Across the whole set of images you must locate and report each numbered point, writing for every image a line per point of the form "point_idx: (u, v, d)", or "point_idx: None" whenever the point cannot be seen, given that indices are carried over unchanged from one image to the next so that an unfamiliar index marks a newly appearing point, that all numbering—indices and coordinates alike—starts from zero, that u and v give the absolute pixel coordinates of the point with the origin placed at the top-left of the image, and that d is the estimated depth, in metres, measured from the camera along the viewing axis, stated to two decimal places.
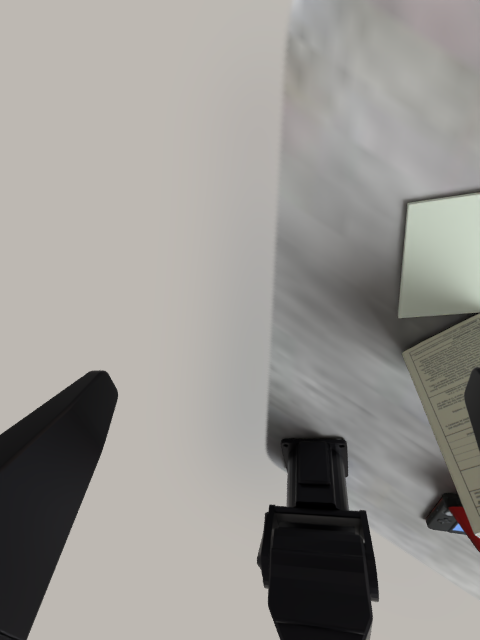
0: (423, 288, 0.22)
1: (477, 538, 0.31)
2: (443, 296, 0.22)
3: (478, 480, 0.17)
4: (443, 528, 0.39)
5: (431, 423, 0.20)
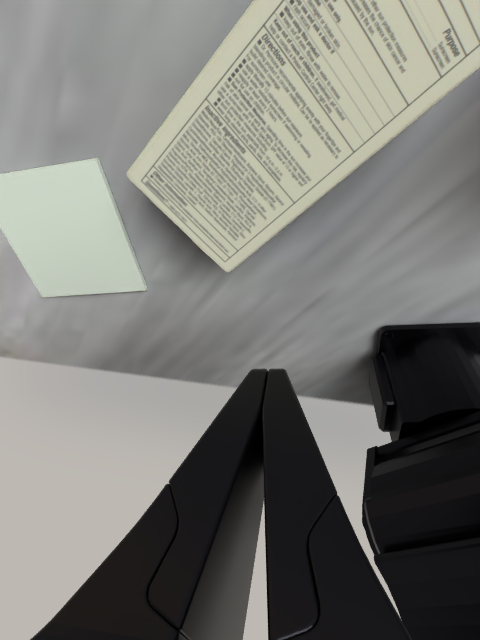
0: (106, 275, 0.22)
1: None
2: (109, 256, 0.21)
3: (419, 70, 0.10)
4: None
5: (336, 181, 0.13)
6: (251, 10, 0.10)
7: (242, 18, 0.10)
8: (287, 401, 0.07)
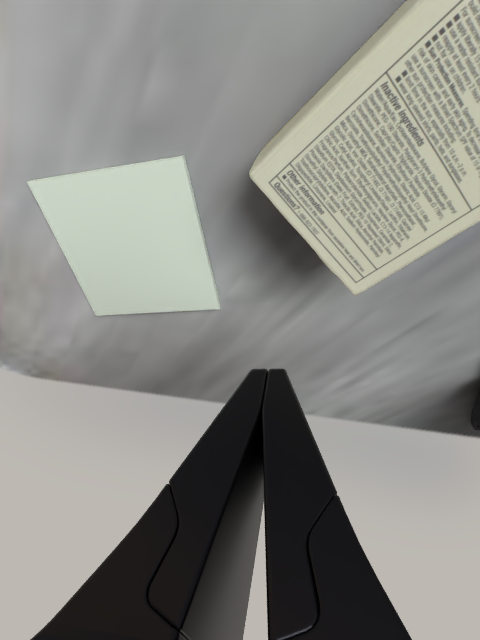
0: (175, 291, 0.19)
1: None
2: (182, 270, 0.18)
3: None
4: None
5: None
6: None
7: None
8: (287, 401, 0.07)
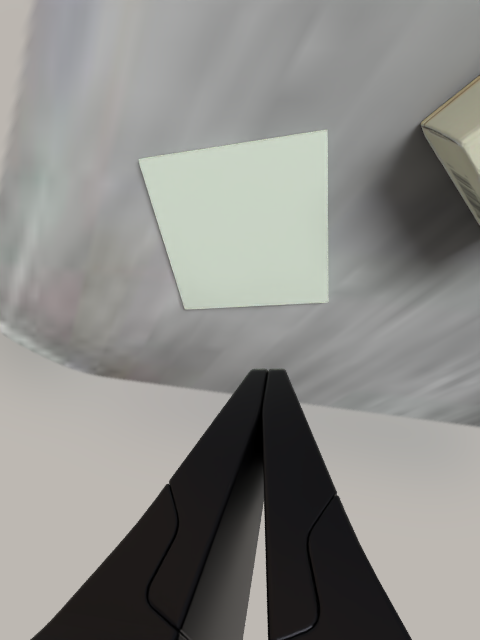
0: (282, 283, 0.17)
1: None
2: (295, 260, 0.16)
3: None
4: None
5: None
6: None
7: None
8: (287, 401, 0.07)
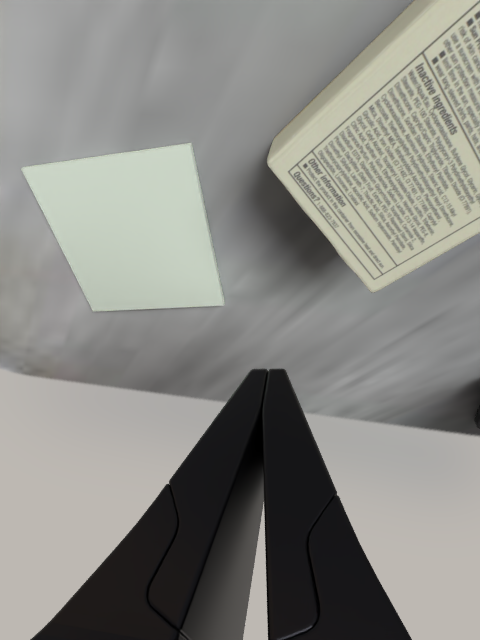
0: (178, 287, 0.18)
1: None
2: (185, 265, 0.17)
3: None
4: None
5: None
6: None
7: None
8: (287, 401, 0.07)
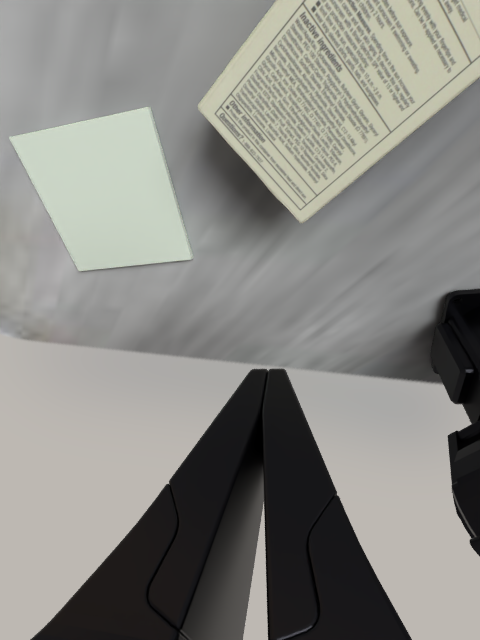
0: (150, 243, 0.20)
1: None
2: (155, 221, 0.19)
3: None
4: None
5: (444, 102, 0.11)
6: None
7: None
8: (287, 401, 0.07)
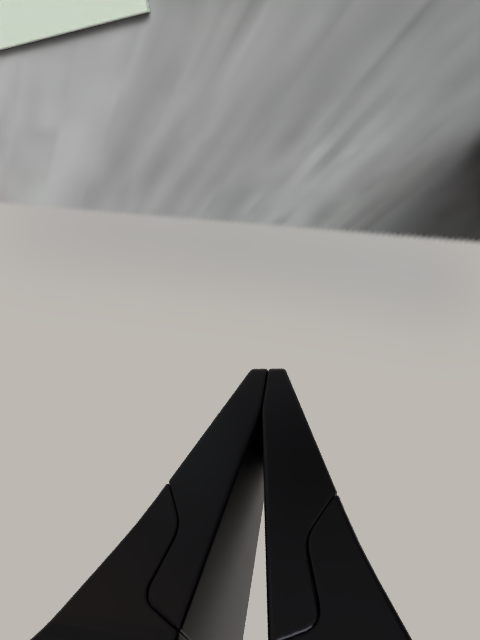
0: None
1: None
2: None
3: None
4: None
5: None
6: None
7: None
8: (287, 401, 0.07)
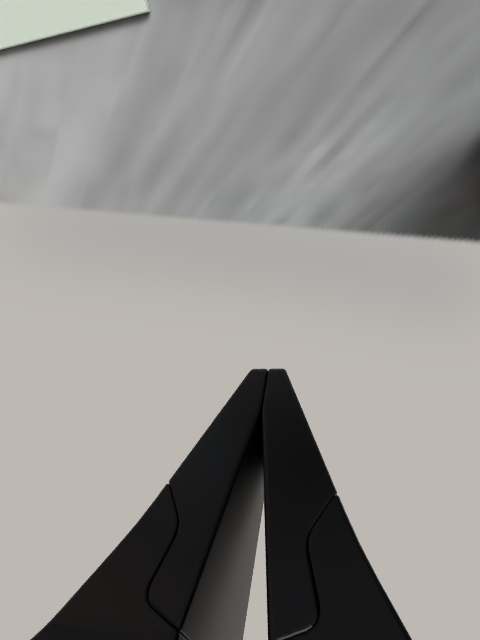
0: None
1: None
2: None
3: None
4: None
5: None
6: None
7: None
8: (287, 401, 0.07)
